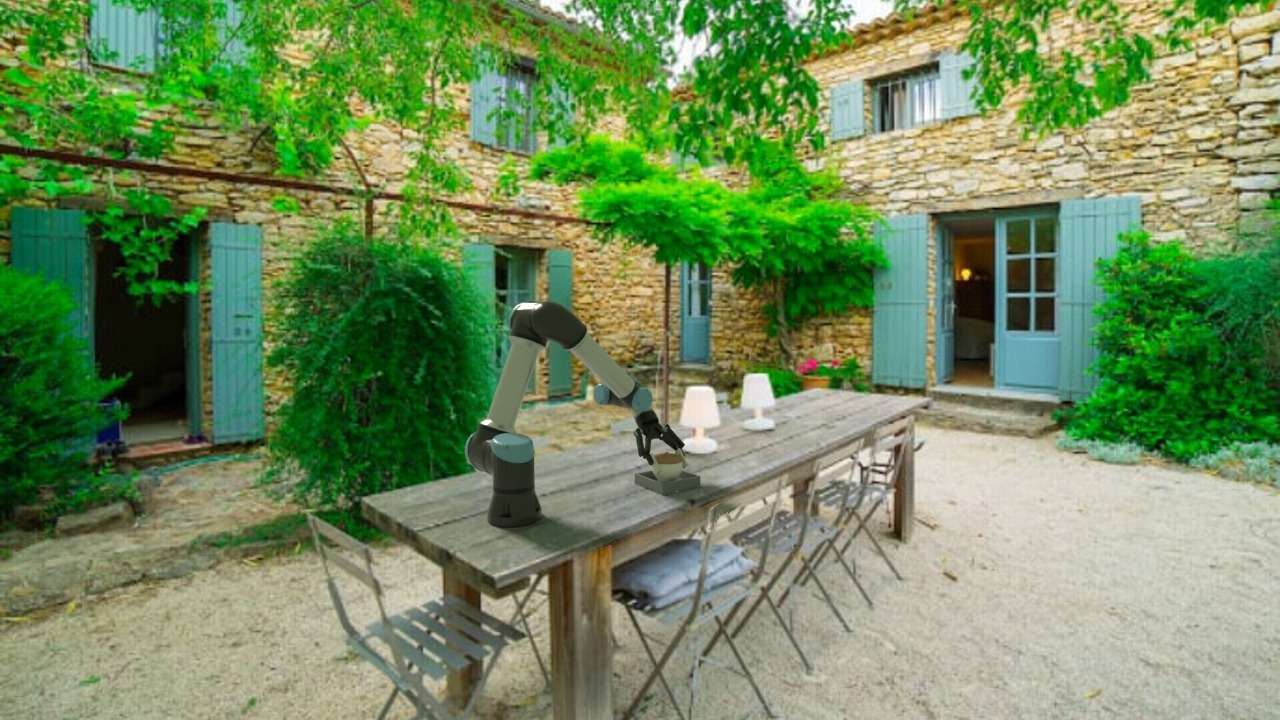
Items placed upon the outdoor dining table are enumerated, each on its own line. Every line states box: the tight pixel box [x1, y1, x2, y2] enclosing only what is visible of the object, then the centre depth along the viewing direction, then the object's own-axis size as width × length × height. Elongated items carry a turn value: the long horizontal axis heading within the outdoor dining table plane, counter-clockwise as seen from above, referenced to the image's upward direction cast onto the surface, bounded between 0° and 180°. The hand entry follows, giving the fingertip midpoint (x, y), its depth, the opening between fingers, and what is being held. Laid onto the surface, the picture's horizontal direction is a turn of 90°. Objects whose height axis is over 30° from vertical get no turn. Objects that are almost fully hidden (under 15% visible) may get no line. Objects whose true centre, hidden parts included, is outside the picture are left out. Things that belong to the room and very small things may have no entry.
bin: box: [634, 469, 701, 496], centre depth 208 cm, size 16×16×4 cm
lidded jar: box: [650, 451, 683, 482], centre depth 207 cm, size 11×11×9 cm
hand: (672, 469), depth 205 cm, fingers closed on lidded jar, 11 cm apart
